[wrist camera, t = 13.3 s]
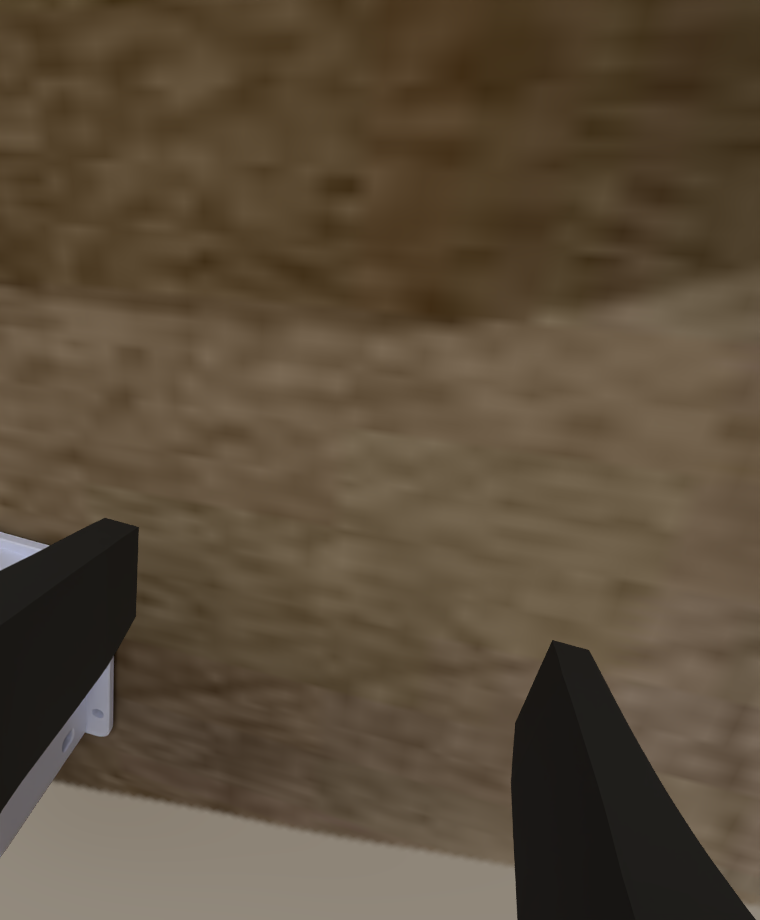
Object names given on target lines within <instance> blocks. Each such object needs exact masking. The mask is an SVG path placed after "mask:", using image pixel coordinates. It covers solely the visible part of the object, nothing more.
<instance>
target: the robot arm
mask: <svg viewBox="0 0 760 920" xmlns="http://www.w3.org/2000/svg"><path fill="white" fill-rule="evenodd" d="M138 532H139V527H136V526H133V525H129V524H125V523H122V522H118V521H114V520H111V519H107V518H104V519H102V520H100V521H97V522H95V523H93V524H91V525H89V526H87V527H85V528H83V529H81V530H79V531H77V532H75V533H74V534H72V535H70V536H68V537H66V538H64V539H62V540H60V541H58V542H56V543H54V544H52V545H50V546H49V545H46V544H42V543H39V542H35V541H31V540H28V539H24V538H20V537H17V536H13V535H10V534H6V533H2V532H0V857H1V856H2V854H3V853H4V852H5V850H6V849H7V848H8V846H9V844H10V843H11V841H12V840H13V839H14V837H15V836H16V834H17V833H18V831H19V830H20V828H21V827H22V825H23V824H24V822H25V821H26V819H27V818H28V816H29V815H30V813H31V812H32V810H33V809H34V807H35V806H36V804H37V803H38V801H39V800H40V799H41V797H42V796H43V794H44V793H45V791H46V789H47V788H48V787H49V785H50V784H51V782H52V781H53V779H54V778H55V776H56V775H57V773H58V772H59V770H60V769H61V767H62V766H63V764H64V763H65V761H66V760H67V758H68V757H69V755H70V754H71V752H72V751H73V750H74V748H75V747H76V745H77V744H78V742H79V741H80V739H81V738H82V736H83V735H84V733H89V734H92V735H95V736H100V737H103V736H107V735H108V734H109V733H110V731H111V730H112V728H113V688H114V654H115V653H116V651H117V649H118V648H119V646H120V644H121V642H122V640H123V639H124V637H125V635H126V633H127V631H128V630H129V628H130V626H131V624H132V622H133V620H134V619H135V617H136V593H137V562H138ZM511 793H512V817H513V839H514V859H515V878H516V899H517V918H518V920H756V919H755V918H754V917H753V916H752V914H751V913H750V912H749V910H748V909H747V908H746V906H745V905H744V904H743V902H742V901H741V900H740V898H739V897H738V895H737V894H736V893H735V891H734V890H733V889H732V887H731V886H730V885H729V883H728V882H727V880H726V879H725V878H724V876H723V875H722V874H721V872H720V871H719V870H718V868H717V867H716V865H715V864H714V863H713V861H712V860H711V859H710V857H709V856H708V854H707V853H706V851H705V850H704V848H703V847H702V845H701V844H700V843H699V841H698V840H697V838H696V837H695V835H694V834H693V832H692V831H691V829H690V827H689V826H688V824H687V823H686V821H685V820H684V818H683V817H682V815H681V813H680V812H679V810H678V809H677V807H676V806H675V804H674V803H673V801H672V799H671V798H670V796H669V795H668V793H667V791H666V790H665V788H664V786H663V785H662V783H661V781H660V780H659V778H658V776H657V775H656V773H655V771H654V769H653V768H652V766H651V764H650V762H649V761H648V759H647V757H646V755H645V754H644V752H643V750H642V748H641V747H640V745H639V743H638V741H637V740H636V738H635V736H634V734H633V732H632V731H631V729H630V727H629V725H628V723H627V721H626V720H625V718H624V716H623V714H622V712H621V710H620V708H619V706H618V705H617V703H616V701H615V699H614V697H613V695H612V693H611V691H610V689H609V687H608V685H607V683H606V682H605V680H604V678H603V676H602V674H601V672H600V670H599V668H598V666H597V664H596V662H595V661H594V659H593V657H592V655H591V653H590V651H589V650H587V649H583V648H579V647H576V646H572V645H568V644H565V643H561V642H557V641H554V640H552V642H551V644H550V647H549V649H548V651H547V653H546V656H545V658H544V660H543V662H542V665H541V667H540V669H539V671H538V674H537V676H536V678H535V680H534V682H533V685H532V687H531V689H530V691H529V694H528V696H527V698H526V700H525V703H524V705H523V707H522V709H521V711H520V714H519V716H518V718H517V720H516V723H515V734H514V747H513V760H512V777H511Z"/></svg>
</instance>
